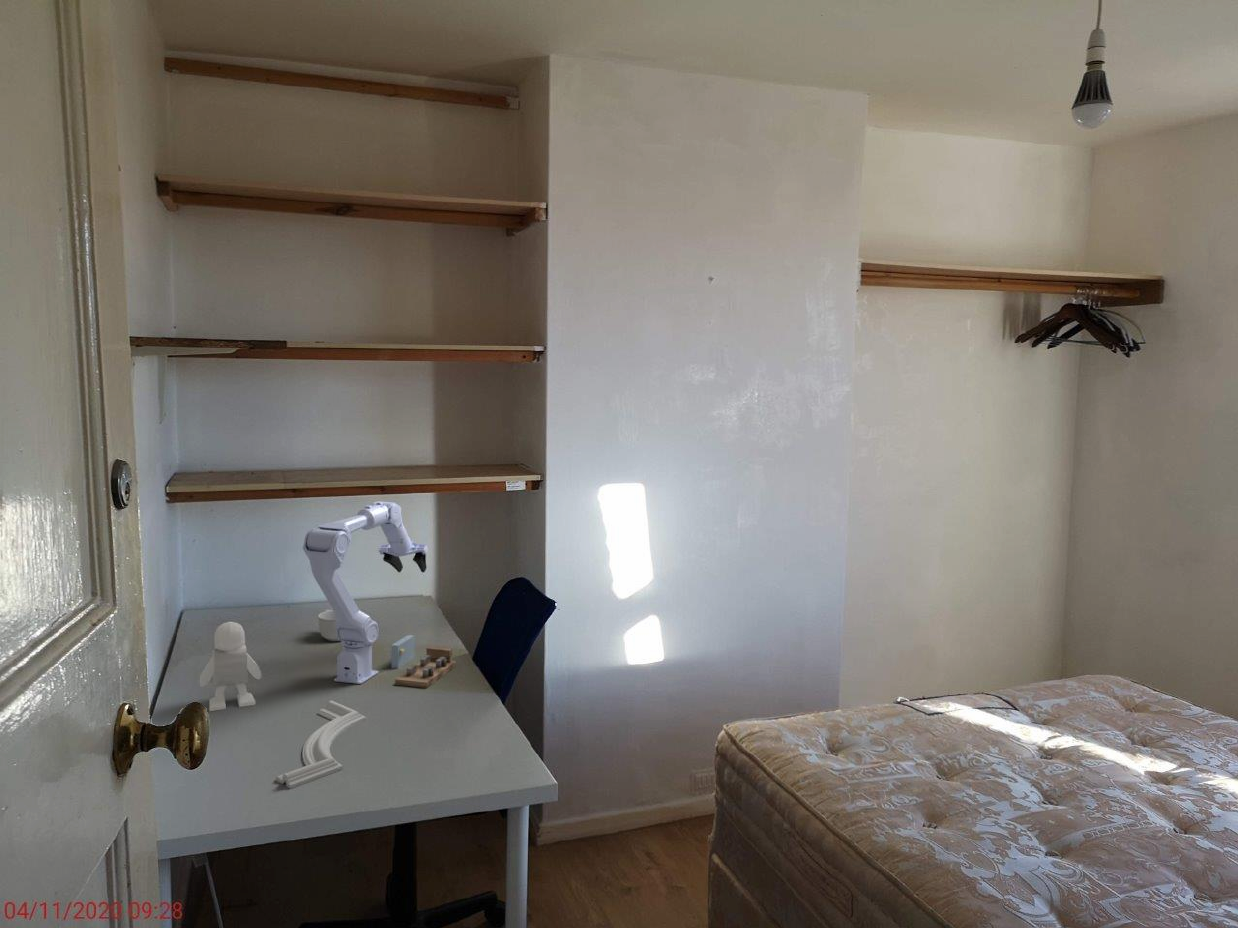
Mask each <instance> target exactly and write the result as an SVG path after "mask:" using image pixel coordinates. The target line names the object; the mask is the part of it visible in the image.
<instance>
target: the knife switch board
mask: <svg viewBox="0 0 1238 928" xmlns="http://www.w3.org/2000/svg"><path fill="white" fill-rule="evenodd" d="M419 661H420V662H418V663H416V664H415V663H412V664H411V665H409V666H408V667H407V668H406V671H405V672H404V673H402V674H401V675H399V676H397V677H396V678H395V679H394V682H395V683H394V684H395V685H396V686H404V687H412V688H413V687H414V688H425V689H427V688H429V687H431V686H432V685H433V684H434V683H436V682H437V681H438V680H440V679H441V678H443V677H444V676H445V675H446V674H448V673H449V672H450V671H451V670H453V669H454V668H456V667H457V660H453V648H449V647H447V648H446V647H437V646H428V647H426V655H424V656H423V657H421V658H420V659H419Z"/></svg>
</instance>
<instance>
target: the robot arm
mask: <svg viewBox="0 0 1238 928" xmlns="http://www.w3.org/2000/svg"><path fill="white" fill-rule="evenodd" d="M377 527H381V530H382V532H383V534H384V536H385V538H386V540H387V542H388V543H387V544H381V545H380V546H379V547H378V553H379V555H383V558H382V560H383V562H385V563H387V564H389V565H391V566H392V568H393V569H395V570H396V571H397V573H401V572H402V571H403V569H404V567H403V563H402V561H401V559H400V557H405V556H408V555H412V554H414V556H413V558H412V561H413V562H415V564H417V566H418V568H419V570H420V572H422V573H425V572H426V570H427V568H428V567H427V558H426V557H427V553H428V551H429V547H428V545H427V544H422V543H418V542H415V541H412V540H411V538H410V537H409V534H408V532H407V530H406V528H405V526H404V524H403V517H402V507H401V505H398V504H397V503H396V502H392V501H391V502H390V501H374V502H372V505H370V504H369V505H368V504H367V505H365V506H364V508H362V509H360V510H359V511H358V513H357V514H356V516H351V517H348V518H344V519H340V520H336V521H332V522H328V523H324V524H320V525H318V526H317V528H316V527H315V528H314V527H313V528H311V529H309V530H308V531H307V533H306V534H305V536H304V540H303V541H304V542H303V545H302V550H303V552H304V554H305V555H306V557H307V558H308V560H309V565H310V568H311V572H312V576H313V578H314V579H315V581H316V583H317V585H318V586H319V588H320V590H321V591H322V593H323V595H324V596H325V598H326V601H328V603H329V605H330V607H331V609H332V610H334V612H335V614H336V615H337V619H336V621H335V623H334V626H335V628H336V633H337V637H338V639H339V640H341V641H340V642H341V643H340V644H341V645H342V647H343V648H342V650H341V651H340V652H339V653H338V654H337V657H336V677H335V678H334V682H338V683H351V684H358V685H360V684H361V685H362V684H364V683H365V682H367V680H370V679H371V678H373V677H374V676H375V675H377V674H379V670H373V646H372V645H373V644H375V642H376V640H377V639H378V637H379V632H380V630H379V626H378V623H377V621H375V620H373V619H372V617H371V616H370V615H368V614H366V613H365V612H363V611H361V610H360V609H359V607H358V606H357V604H356V602H355V600H354V598H353V596H352V595H351V593H350V591H349V589H348V587H347V585H346V583H345V582H344V580H343V578H342V576H341V575H340V573H339V571H338V570H339V569H340V568H341V567H342V565H343V563H344V560H345V558H346V555H347V552H348V550H349V548H350V543H351V541H352V536H351V535H352V533H354V532H356V531H359V530H360V529H362V530H364V531H369V530H373V529H375V528H377Z"/></svg>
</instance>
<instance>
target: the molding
mask: <svg viewBox="0 0 1238 928" xmlns="http://www.w3.org/2000/svg"><path fill="white" fill-rule="evenodd" d="M316 714H317V715H318V716H321V717H324V718H325V719H328V720H329V721H328V722H327V723H325V724H323V725H321V726H320V727H319V728H318V729H316V730H315V731H314V732H313V733H312V734H311V735H310V736H309V737H308V738H307V740H306V741H305V742H304V745H303V748H302V752H301V753H302V754H301V755H302V756H301V757H302V761H303V764H304V766H303V767H302V766H301V767H300V768H297V769H294V770H291V771H288V772H285V773H283V774H281V775H280V774H279V775H277V776H276V777H275V781H277V782H278V783H280V784H281V785H282V784H285V787H287V788H289V789H293V788H297V787H298V786H301V785H304V784H307V783H309V782H312V781H315V780H317V779H320V778H323V777H324V776H328V775H330V774H333V773H336V772H338V771H341V770H343V764H341V763H339V762H338V761H337V760H336V759H334V757H333V756H332V754H331V751H330V749H331V745H332V743H333V742H334V741H335V739H336V738H337V737H338V736H339V735H340V734H342V733H343V732H344V731H346V730H347V729H350V728H351V727H353V726H355V725H357V724H359V723H362V722H364V721H366V720H367V716H364V715H362V714H361V713H359V712H358V711H357V710H354V709H352V708H350V707H347V706H345V705H343V704H340V703H338V702H337V701H336V702H335V701H334V700H329V701H328V702H327V705H326V708H320V709H319V710H318V711H317V713H316Z"/></svg>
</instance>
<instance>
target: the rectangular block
mask: <svg viewBox="0 0 1238 928" xmlns="http://www.w3.org/2000/svg"><path fill="white" fill-rule="evenodd" d="M415 637H416V636H415V635H414V634H408V635H406V636H404V637H402V638H401V639H399V640H397V641H396V642H394V643H392V644H391V646H390V652H391V655H390V656H391V663H390V664H391V666H390V667H391V668H392V669H399V668H402V667H403V666H404V665H405V664H407V663H408V662H410V661H412V660H413V659H414V658H416V651H415V649H416V648H415V645H416V644H415V642H416V641H415V640H416V638H415Z"/></svg>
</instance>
